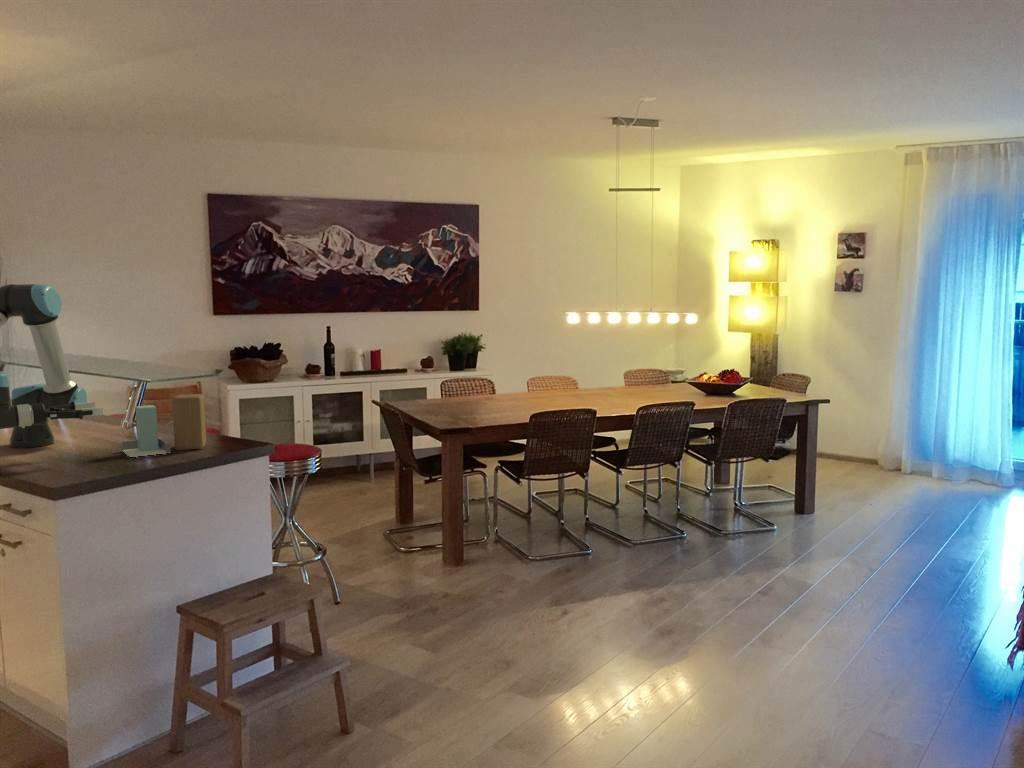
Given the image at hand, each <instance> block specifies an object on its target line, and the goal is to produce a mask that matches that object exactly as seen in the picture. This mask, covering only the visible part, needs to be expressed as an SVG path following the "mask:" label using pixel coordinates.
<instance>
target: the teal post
mask: <svg viewBox="0 0 1024 768" xmlns="http://www.w3.org/2000/svg"><path fill="white" fill-rule="evenodd" d="M134 407H135V420H136V422H135V425H136V438H137V439H136V440H137V443H138V449H139V450H140V451H141V452H142V451H151V450H159V449H158V436H159V434H158V419H157V418H158V417H157V416H158V415H157V406H156V405H153V404H151V405H150V404H149V405H136V406H134Z"/></svg>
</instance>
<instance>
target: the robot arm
mask: <svg viewBox="0 0 1024 768" xmlns="http://www.w3.org/2000/svg"><path fill="white" fill-rule="evenodd" d="M62 304H63V303H62V299H61V295H60V294H59V291H58V290H57V289H56V288H55V287H53V286H51V285H49V284H41V283H34V284H33V283H31V284H25V283H24V284H12V283H11V284H6V285H1V286H0V329H1V328H2V326H4V325H6V324H7V322H8V320H9V319H10V318H13V317H19V318H20V317H21V320H22V323H23V325H24V326H27V327H29V331H30V334H31V336H32V340H33V343H34V347H35V351H36V354H37V357H38V361H39V364H40V367H41V371H42V374H43V378H44V382H45V383H38V384H37V383H35V384H31V385H24V386H19V387H14V388H13V389H12V390H11V392H10V383H9V377H8V374H7V373H6V372H5V371H0V430H3V429H4V430H5V429H12V432H11V435H10V439H9V446H10V447H11V448H15V447H17V449H19V448H20V449H24V448H26V447H29V448H36V447H37V448H38V447H44V446H48V445H49V444H50V445H53V444H54V443H55V436H54V434H53V431H52V429H51V427H50V424H49V422H48V421H49V419H50V420H52V421H53V420H60V419H61V420H67V419H68V420H69V419H79V420H83V419H84V418H85V417H87V418H88V417H97V416H103V415H104V413H103V407H102V406H100V407H96V403H95V401H91V402H90V401H89V402H88V394H87V391H86V389H84V387H78V383H77V380H75V379H74V378H72V377H71V374H70V370H69V367H68V363H67V360H66V356H65V353H64V349H63V346H62V342H61V339H60V335H59V334H60V333H59V330H58V327H57V324H56V322H57V321H58V319H59V315H60V314H61V312H62V310H63V307H62ZM52 443H53V444H52ZM50 445H49V446H50ZM26 449H27V448H26Z"/></svg>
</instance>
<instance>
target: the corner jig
mask: <svg viewBox="0 0 1024 768" xmlns="http://www.w3.org/2000/svg"><path fill="white" fill-rule="evenodd" d="M158 449H159V450H151V451H142V452H141V451H140V450H139V449H138V443H137V439H130V440H122V441H121V452H122V451H123V452H124V453H125V454H126V455H127V456H126V455H125V454H124V453H123V452H122V453H123V454H124V455H125V456H126V457H128V456H129V457H136V458H139V457H138V456H145V457H148V456H147V455H154V456H157V455H156V454H163V455H167V454H166V453H171V442H169V441H168V440H166V439H165V438H163V437H162V436H159V437H158ZM129 457H128V458H129Z"/></svg>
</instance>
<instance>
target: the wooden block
mask: <svg viewBox="0 0 1024 768" xmlns="http://www.w3.org/2000/svg"><path fill="white" fill-rule="evenodd" d="M171 403H172V416H173V418H172V419H173V435H174V436H173V437H174V439H173V440H174V448H175V451H190V450H189V449H198V450H202V449H203V448H204V447H205V446H206V444H207V435H206V434H207V429H206V411H205V410H206V409H205V396H204V394H202V393H191V394H189V393H188V394H178V395H176V396H174V397H173V398H172V401H171Z"/></svg>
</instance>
